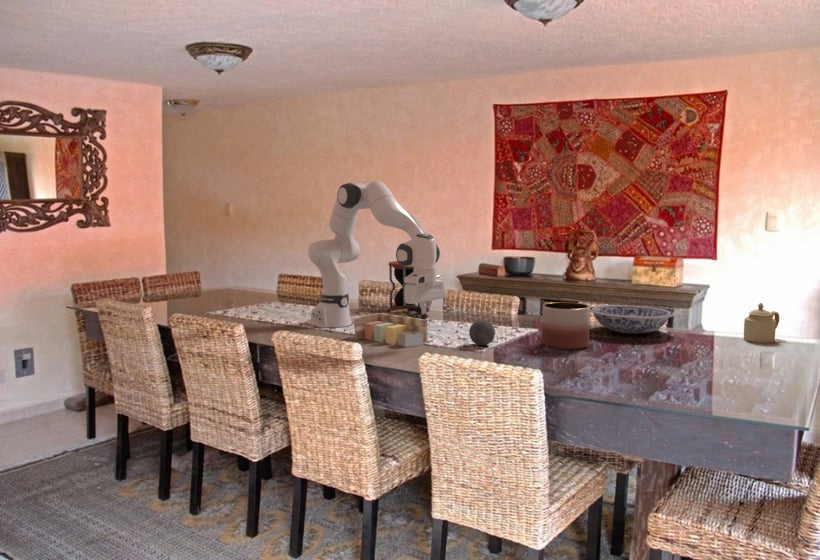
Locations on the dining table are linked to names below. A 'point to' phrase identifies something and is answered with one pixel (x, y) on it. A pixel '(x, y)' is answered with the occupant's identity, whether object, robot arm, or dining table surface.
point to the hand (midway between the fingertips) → (425, 312)
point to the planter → (565, 325)
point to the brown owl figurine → (409, 312)
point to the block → (410, 338)
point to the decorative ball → (482, 332)
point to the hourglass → (400, 275)
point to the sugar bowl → (761, 325)
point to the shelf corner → (410, 322)
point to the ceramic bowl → (631, 318)
